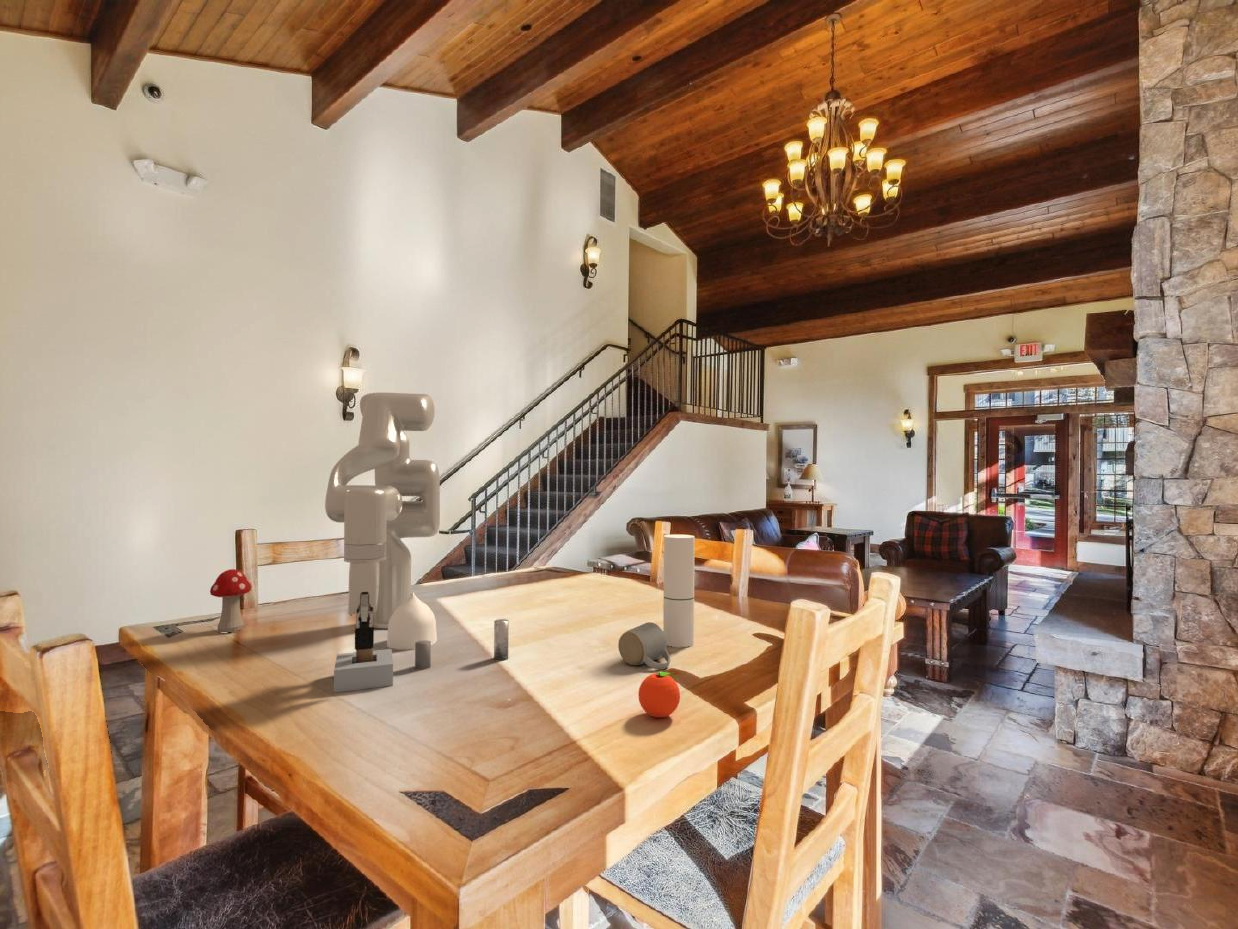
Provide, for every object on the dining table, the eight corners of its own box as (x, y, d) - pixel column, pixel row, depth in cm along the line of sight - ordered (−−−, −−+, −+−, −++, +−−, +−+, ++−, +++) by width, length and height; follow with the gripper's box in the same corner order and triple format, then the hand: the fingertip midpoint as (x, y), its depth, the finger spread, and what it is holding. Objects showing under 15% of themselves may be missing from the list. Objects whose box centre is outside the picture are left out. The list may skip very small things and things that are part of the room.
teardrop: (376, 647, 138) (376, 594, 138) (404, 634, 149) (405, 585, 149) (420, 651, 136) (420, 597, 136) (445, 638, 146) (446, 587, 146)
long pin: (356, 678, 118) (356, 605, 118) (372, 676, 119) (373, 604, 119) (355, 683, 115) (356, 609, 115) (372, 681, 116) (373, 607, 116)
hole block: (336, 674, 120) (337, 654, 120) (391, 668, 124) (391, 649, 124) (333, 692, 111) (334, 670, 111) (392, 685, 114) (393, 664, 114)
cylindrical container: (693, 639, 147) (694, 534, 147) (694, 648, 140) (695, 538, 140) (663, 638, 147) (664, 534, 147) (662, 646, 140) (663, 537, 140)
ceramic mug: (615, 662, 129) (615, 626, 129) (640, 653, 135) (640, 619, 135) (654, 675, 122) (655, 636, 122) (679, 665, 128) (679, 628, 128)
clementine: (658, 702, 107) (658, 662, 107) (691, 713, 103) (692, 670, 103) (629, 716, 101) (630, 673, 101) (663, 728, 97) (664, 683, 97)
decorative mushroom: (217, 626, 155) (217, 567, 155) (255, 624, 157) (256, 565, 157) (203, 637, 145) (204, 573, 145) (244, 634, 148) (245, 572, 148)
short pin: (414, 665, 126) (414, 641, 126) (429, 664, 127) (430, 639, 127) (415, 670, 123) (415, 645, 123) (431, 668, 124) (431, 643, 124)
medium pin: (492, 657, 132) (493, 619, 132) (506, 655, 133) (507, 618, 133) (495, 661, 129) (495, 623, 129) (509, 659, 130) (509, 622, 130)
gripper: (345, 547, 124) (345, 632, 124) (341, 560, 108) (340, 657, 108) (385, 545, 127) (384, 628, 127) (387, 557, 111) (386, 652, 111)
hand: (364, 641), depth 117 cm, fingers open, 9 cm apart
